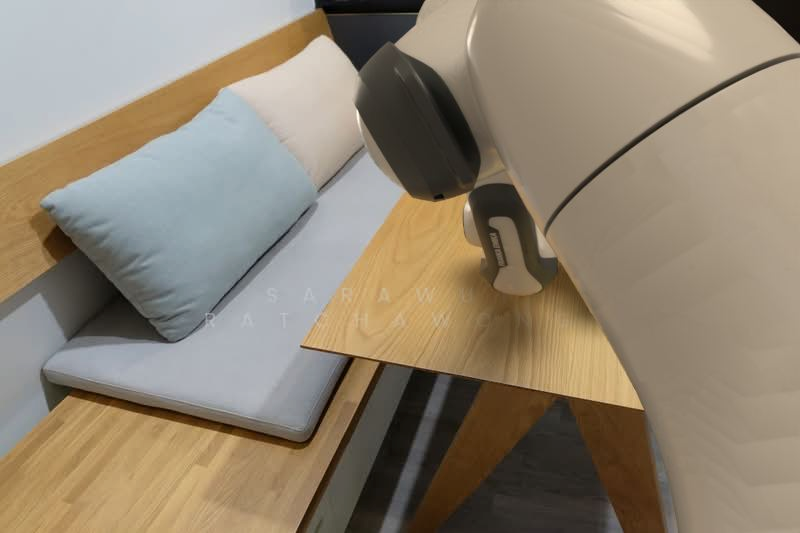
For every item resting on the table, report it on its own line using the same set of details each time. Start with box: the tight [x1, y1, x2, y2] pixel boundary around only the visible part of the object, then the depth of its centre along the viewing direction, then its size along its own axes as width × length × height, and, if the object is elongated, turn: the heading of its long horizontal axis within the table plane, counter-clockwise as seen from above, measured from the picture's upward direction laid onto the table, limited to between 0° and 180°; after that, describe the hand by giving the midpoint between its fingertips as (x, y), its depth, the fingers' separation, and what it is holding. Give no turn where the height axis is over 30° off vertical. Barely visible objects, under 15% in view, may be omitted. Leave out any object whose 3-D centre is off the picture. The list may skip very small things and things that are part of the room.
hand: (675, 224), depth 74 cm, fingers closed on doll, 5 cm apart
